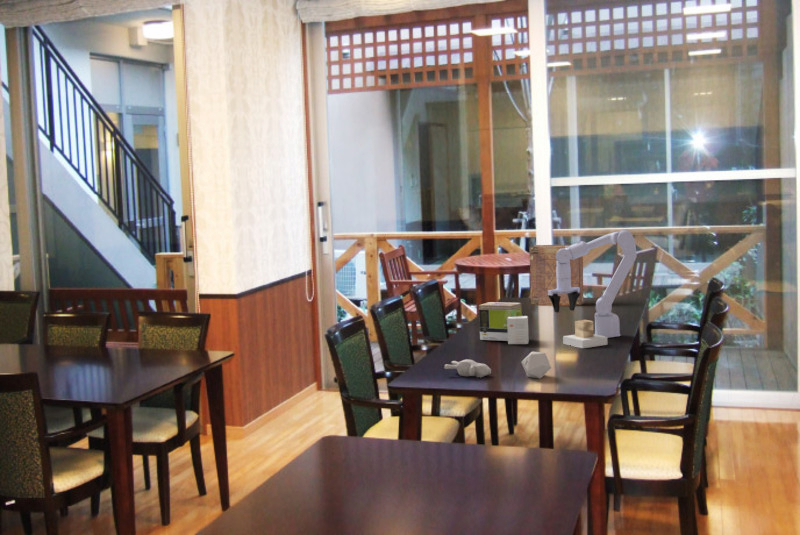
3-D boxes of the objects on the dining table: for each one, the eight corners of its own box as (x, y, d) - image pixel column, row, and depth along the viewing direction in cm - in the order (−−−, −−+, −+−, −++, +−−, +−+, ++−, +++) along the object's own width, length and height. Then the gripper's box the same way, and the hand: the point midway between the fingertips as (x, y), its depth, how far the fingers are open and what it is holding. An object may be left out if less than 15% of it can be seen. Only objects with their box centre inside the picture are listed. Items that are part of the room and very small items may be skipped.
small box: (528, 341, 354) (528, 315, 353) (528, 344, 349) (527, 317, 348) (508, 341, 356) (508, 315, 355) (507, 344, 351) (506, 318, 350)
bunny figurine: (483, 368, 292) (442, 359, 299) (482, 383, 292) (441, 374, 300) (494, 362, 300) (455, 354, 307) (493, 377, 301) (454, 368, 308)
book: (530, 305, 451) (528, 246, 448) (534, 302, 460) (533, 245, 457) (580, 306, 442) (579, 246, 439) (583, 303, 450) (582, 244, 447)
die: (525, 375, 299) (513, 355, 294) (547, 361, 299) (536, 340, 294) (535, 389, 292) (524, 368, 287) (558, 374, 292) (547, 353, 287)
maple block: (585, 334, 348) (585, 319, 347) (593, 336, 343) (593, 321, 343) (575, 336, 346) (574, 321, 345) (583, 338, 341) (583, 322, 341)
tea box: (523, 338, 362) (522, 302, 361) (513, 342, 354) (512, 305, 353) (489, 336, 370) (488, 301, 369) (479, 340, 362) (478, 304, 360)
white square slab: (587, 340, 352) (587, 332, 352) (607, 344, 342) (607, 336, 341) (563, 343, 347) (563, 336, 347) (582, 348, 336) (582, 340, 336)
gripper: (571, 275, 367) (572, 308, 368) (543, 278, 360) (544, 312, 362) (582, 277, 360) (583, 310, 362) (553, 280, 354) (554, 314, 355)
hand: (564, 311), depth 361 cm, fingers open, 7 cm apart
